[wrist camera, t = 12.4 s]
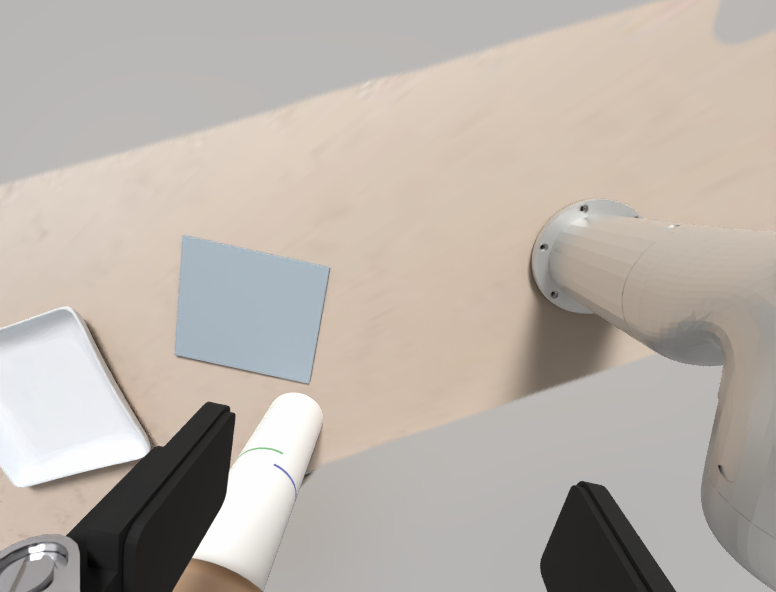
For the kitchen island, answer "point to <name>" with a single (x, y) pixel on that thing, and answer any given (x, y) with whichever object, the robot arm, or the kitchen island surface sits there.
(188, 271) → the mat
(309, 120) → the kitchen island surface
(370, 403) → the kitchen island surface
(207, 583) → the lid
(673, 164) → the kitchen island surface
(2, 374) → the salad plate
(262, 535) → the cylindrical container
